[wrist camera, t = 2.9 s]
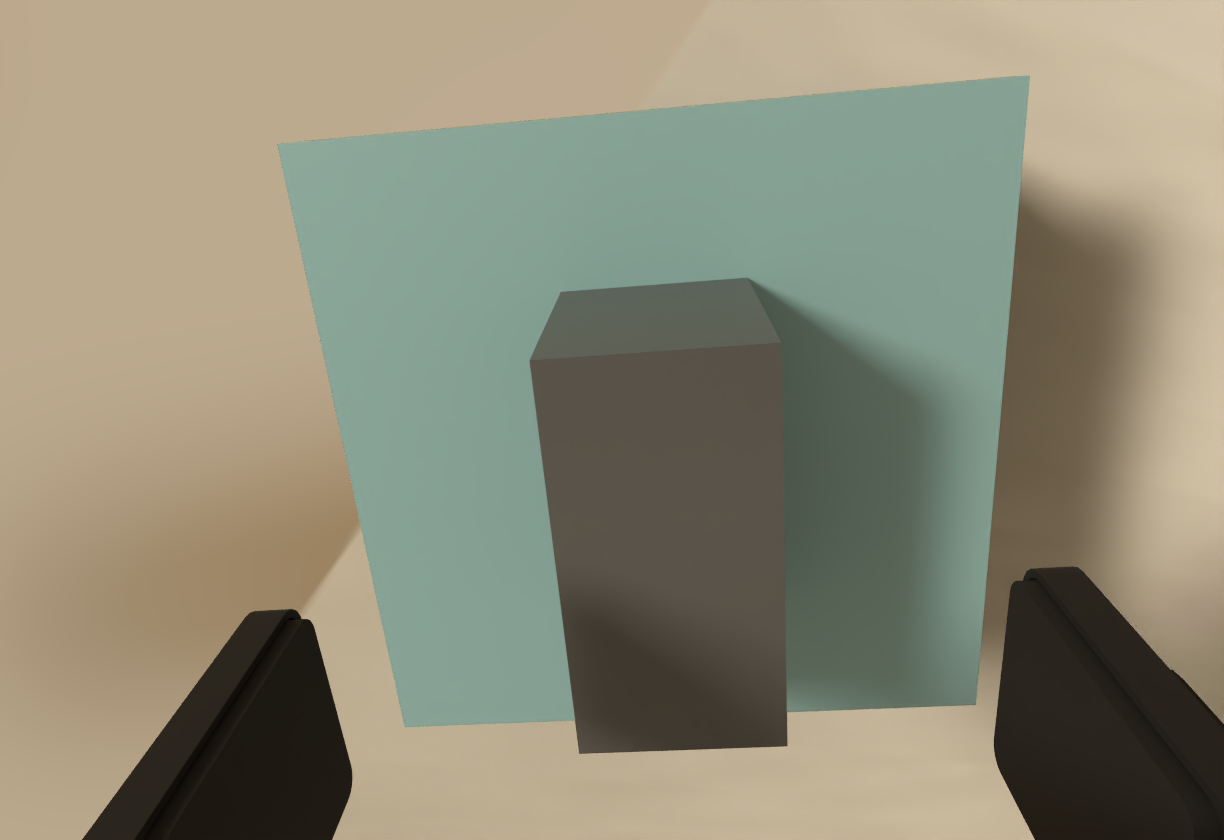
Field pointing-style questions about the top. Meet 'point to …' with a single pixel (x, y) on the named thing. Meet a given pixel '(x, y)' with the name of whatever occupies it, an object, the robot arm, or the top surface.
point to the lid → (674, 404)
